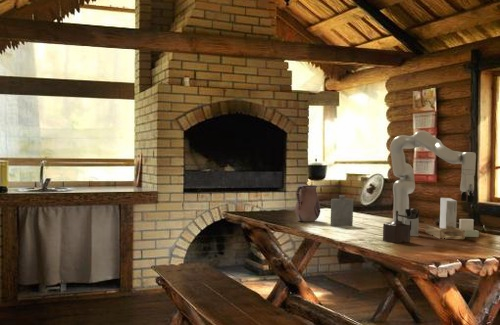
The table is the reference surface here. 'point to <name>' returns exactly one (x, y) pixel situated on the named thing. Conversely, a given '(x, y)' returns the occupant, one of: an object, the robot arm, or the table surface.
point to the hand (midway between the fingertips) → (466, 201)
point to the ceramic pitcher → (307, 203)
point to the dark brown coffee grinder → (398, 229)
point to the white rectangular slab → (466, 224)
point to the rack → (439, 231)
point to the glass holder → (412, 222)
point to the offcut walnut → (447, 232)
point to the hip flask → (341, 212)
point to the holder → (472, 233)
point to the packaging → (448, 212)
